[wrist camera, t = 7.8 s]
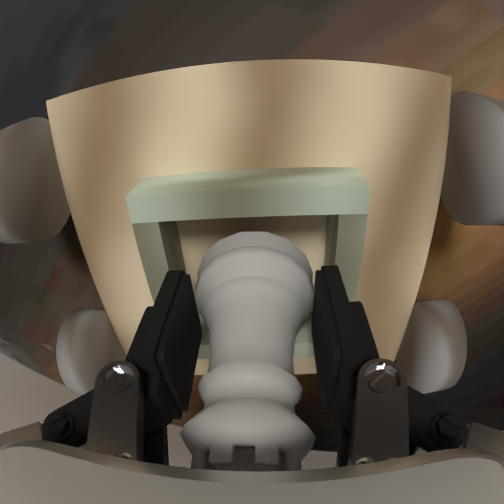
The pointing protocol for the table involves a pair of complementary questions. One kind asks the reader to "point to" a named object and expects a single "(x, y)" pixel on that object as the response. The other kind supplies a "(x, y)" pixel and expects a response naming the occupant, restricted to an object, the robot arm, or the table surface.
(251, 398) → the rook chess piece
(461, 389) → the table surface
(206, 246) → the car chassis
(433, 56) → the table surface
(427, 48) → the table surface
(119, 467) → the robot arm
